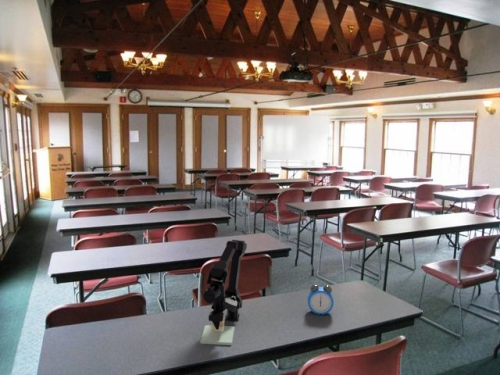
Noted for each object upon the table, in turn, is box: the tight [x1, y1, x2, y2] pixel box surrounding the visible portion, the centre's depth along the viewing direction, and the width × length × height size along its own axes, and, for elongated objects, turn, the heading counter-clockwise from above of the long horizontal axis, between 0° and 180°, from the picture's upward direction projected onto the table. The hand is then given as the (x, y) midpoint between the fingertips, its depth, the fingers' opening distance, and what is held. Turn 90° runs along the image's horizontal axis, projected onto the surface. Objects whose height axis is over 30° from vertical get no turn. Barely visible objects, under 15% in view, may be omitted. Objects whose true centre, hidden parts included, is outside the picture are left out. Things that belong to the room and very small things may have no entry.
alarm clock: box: [307, 283, 335, 315], centre depth 199 cm, size 13×6×15 cm, turn 83°
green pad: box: [199, 324, 236, 346], centre depth 175 cm, size 14×14×1 cm
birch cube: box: [211, 317, 225, 332], centre depth 174 cm, size 5×5×5 cm
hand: (218, 326), depth 174 cm, fingers closed on birch cube, 5 cm apart
